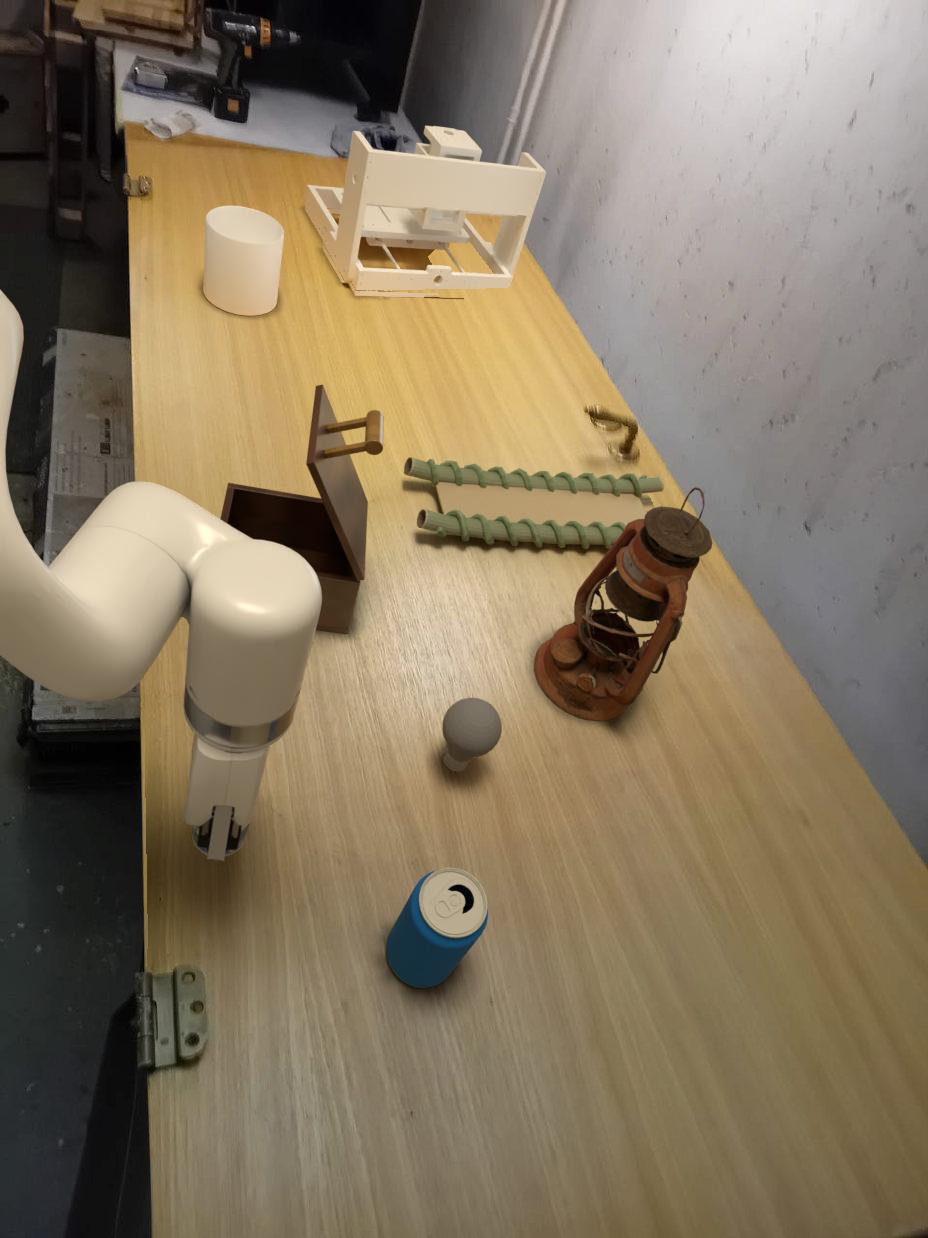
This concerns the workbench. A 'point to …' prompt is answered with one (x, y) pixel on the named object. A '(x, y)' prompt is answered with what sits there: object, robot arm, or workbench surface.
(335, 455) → the lid
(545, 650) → the lantern
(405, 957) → the beverage can
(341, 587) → the chest
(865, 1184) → the workbench surface
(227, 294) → the cup
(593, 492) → the stretcher
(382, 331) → the workbench surface
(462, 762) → the light bulb
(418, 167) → the 3d printer
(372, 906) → the workbench surface
